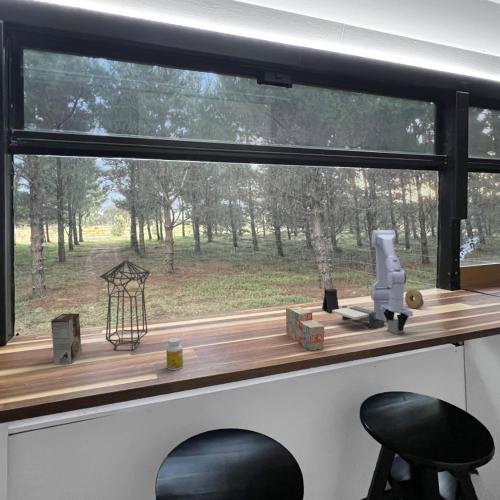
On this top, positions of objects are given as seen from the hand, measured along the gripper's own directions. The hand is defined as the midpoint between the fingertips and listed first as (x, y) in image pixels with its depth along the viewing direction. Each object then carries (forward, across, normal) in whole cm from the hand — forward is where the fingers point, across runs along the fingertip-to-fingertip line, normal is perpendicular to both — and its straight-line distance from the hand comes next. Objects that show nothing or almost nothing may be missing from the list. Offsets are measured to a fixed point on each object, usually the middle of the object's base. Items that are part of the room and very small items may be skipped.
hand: (395, 328), depth 151 cm
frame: (+1, -17, -1) cm, 17 cm away
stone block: (+1, 0, 0) cm, 1 cm away
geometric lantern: (+2, -47, -103) cm, 113 cm away
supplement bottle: (+2, -18, -94) cm, 96 cm away
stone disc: (+2, -20, +43) cm, 47 cm away
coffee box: (+2, -46, -125) cm, 133 cm away
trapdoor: (-1, -17, -7) cm, 18 cm away
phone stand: (+2, -41, +1) cm, 41 cm away
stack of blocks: (+2, -14, -41) cm, 43 cm away
